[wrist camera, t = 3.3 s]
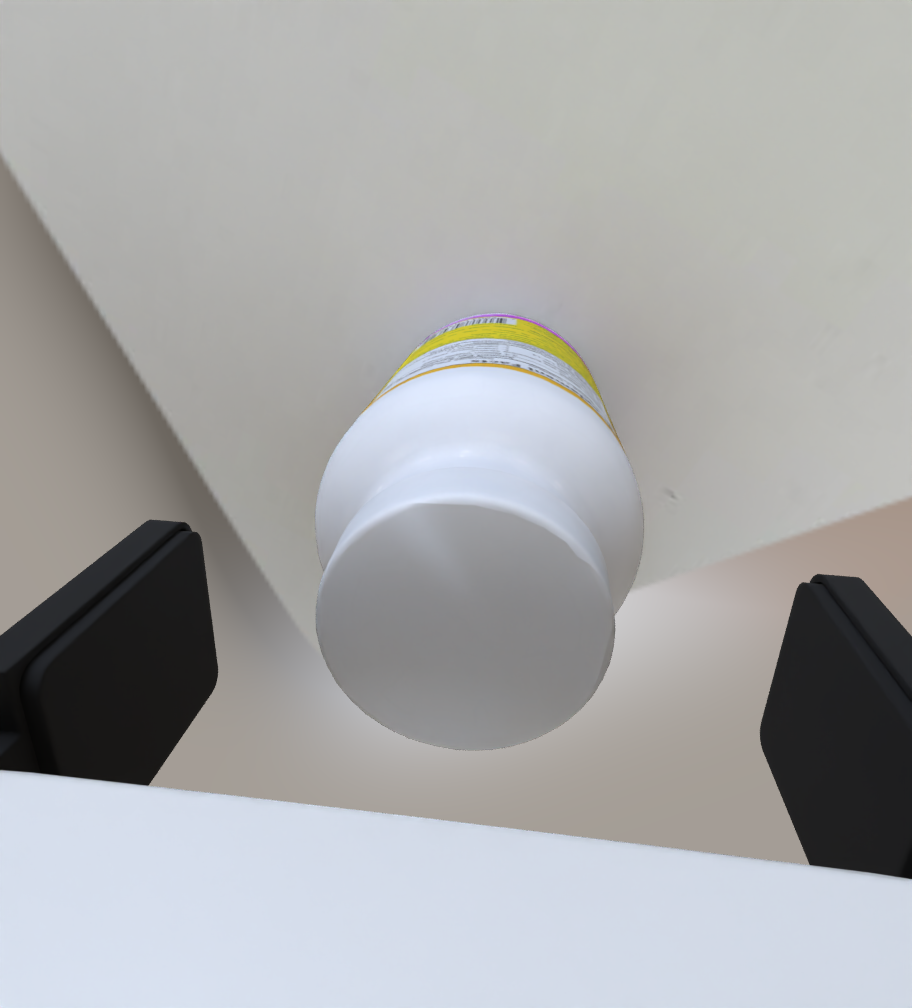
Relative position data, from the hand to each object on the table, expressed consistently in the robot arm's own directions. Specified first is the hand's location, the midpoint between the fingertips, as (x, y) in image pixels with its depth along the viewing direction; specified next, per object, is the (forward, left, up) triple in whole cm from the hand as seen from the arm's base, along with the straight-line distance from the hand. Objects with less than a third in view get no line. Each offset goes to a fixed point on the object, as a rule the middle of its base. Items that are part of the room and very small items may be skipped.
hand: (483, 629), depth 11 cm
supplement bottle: (0, 0, -13) cm, 13 cm away
